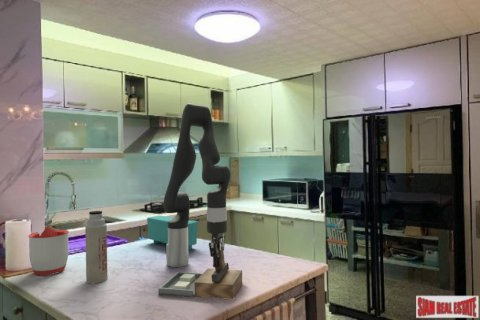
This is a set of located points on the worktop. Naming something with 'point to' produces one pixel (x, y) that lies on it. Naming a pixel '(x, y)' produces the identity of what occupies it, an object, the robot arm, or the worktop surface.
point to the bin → (169, 290)
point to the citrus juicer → (48, 251)
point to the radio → (160, 230)
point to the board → (218, 284)
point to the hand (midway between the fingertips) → (217, 265)
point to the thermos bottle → (96, 248)
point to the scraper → (220, 268)
